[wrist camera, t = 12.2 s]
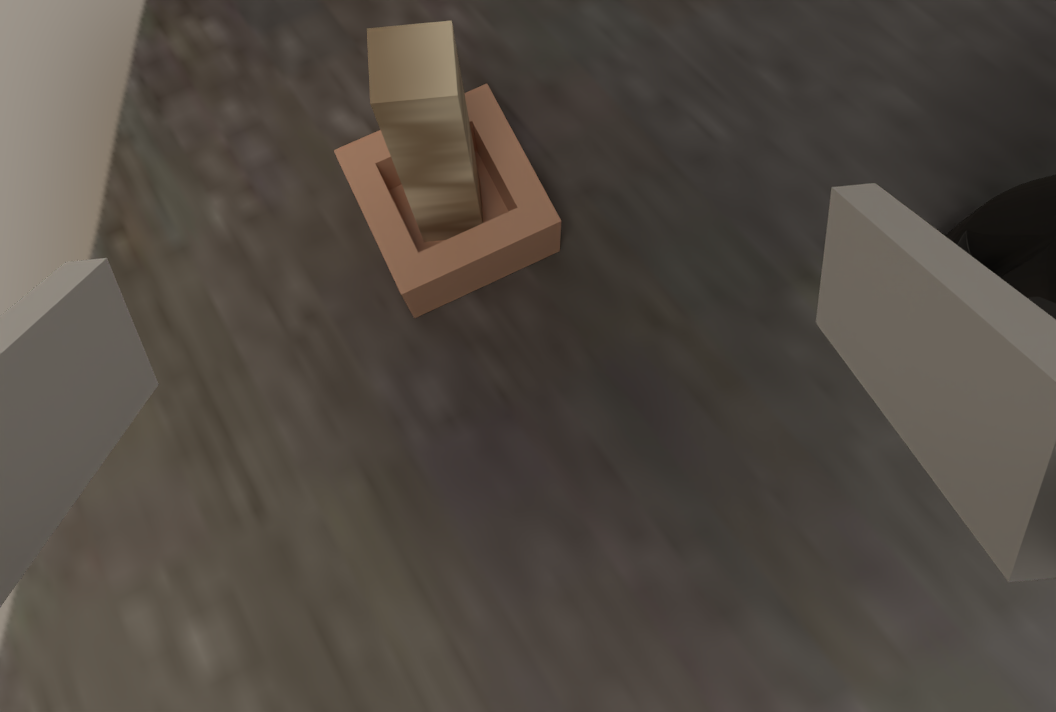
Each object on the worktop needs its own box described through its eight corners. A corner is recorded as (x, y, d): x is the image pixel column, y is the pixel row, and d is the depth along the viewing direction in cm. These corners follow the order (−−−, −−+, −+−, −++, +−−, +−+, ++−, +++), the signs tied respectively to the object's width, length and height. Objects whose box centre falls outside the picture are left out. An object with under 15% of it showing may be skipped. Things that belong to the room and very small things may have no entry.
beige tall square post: (479, 181, 38) (451, 20, 27) (484, 236, 38) (457, 95, 26) (420, 186, 38) (366, 28, 27) (424, 242, 38) (370, 103, 26)
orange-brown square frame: (491, 124, 40) (487, 83, 37) (559, 251, 38) (561, 220, 35) (352, 186, 39) (333, 150, 36) (414, 318, 37) (401, 294, 34)
